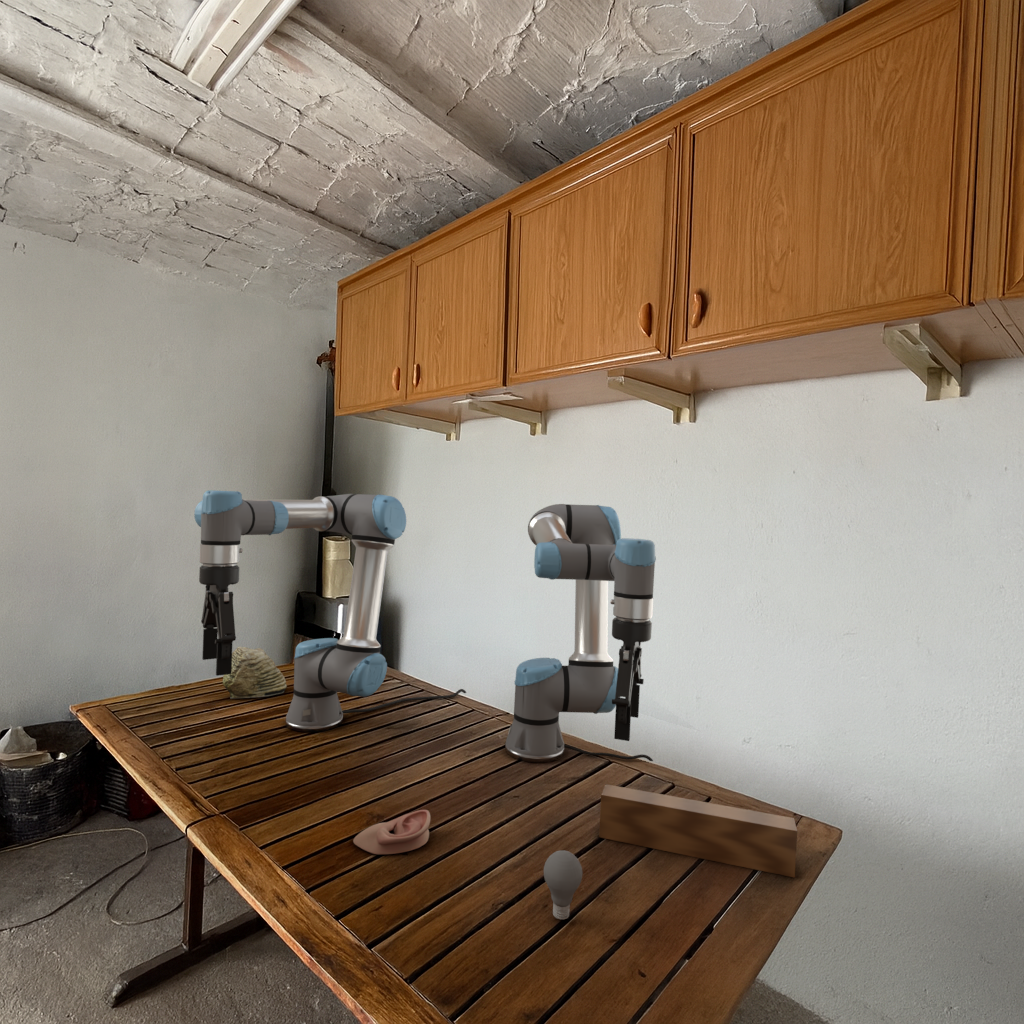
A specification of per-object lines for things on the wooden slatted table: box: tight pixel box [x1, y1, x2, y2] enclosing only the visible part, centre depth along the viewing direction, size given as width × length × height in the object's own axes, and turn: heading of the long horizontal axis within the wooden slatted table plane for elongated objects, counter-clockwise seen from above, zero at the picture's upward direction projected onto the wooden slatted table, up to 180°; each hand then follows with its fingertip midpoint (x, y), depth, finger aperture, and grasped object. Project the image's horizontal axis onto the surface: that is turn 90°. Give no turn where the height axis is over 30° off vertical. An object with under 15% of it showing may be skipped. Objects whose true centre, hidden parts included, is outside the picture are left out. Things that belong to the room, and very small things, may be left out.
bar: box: [598, 783, 798, 879], centre depth 119 cm, size 35×5×8 cm, turn 72°
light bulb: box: [543, 849, 583, 920], centre depth 98 cm, size 6×6×10 cm
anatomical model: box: [352, 809, 431, 856], centre depth 118 cm, size 13×4×12 cm
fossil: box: [222, 646, 288, 699], centre depth 198 cm, size 9×18×15 cm, turn 132°
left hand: (216, 666), depth 132 cm, fingers open, 13 cm apart
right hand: (626, 727), depth 123 cm, fingers open, 13 cm apart
